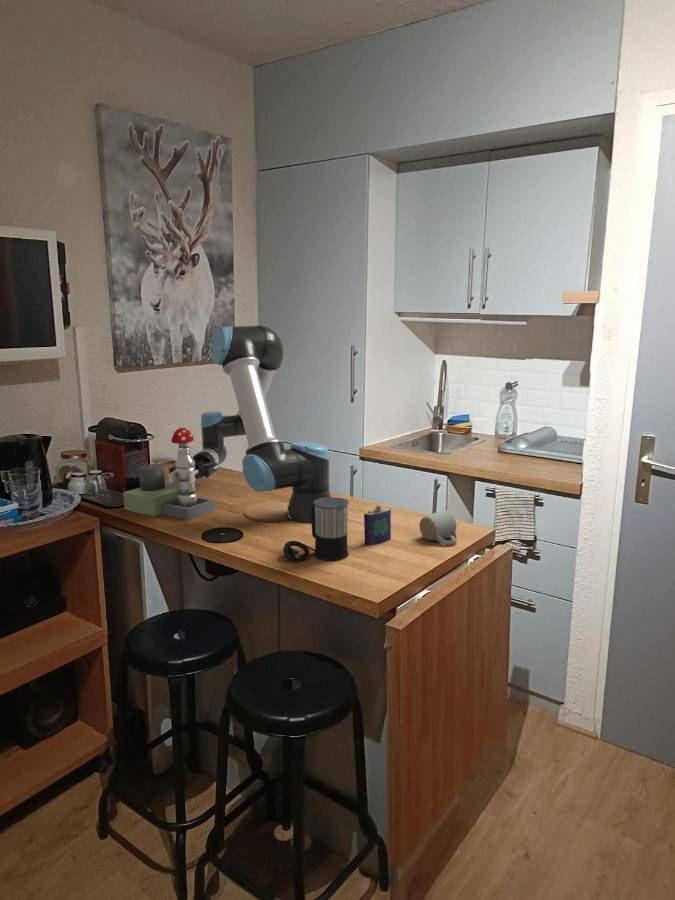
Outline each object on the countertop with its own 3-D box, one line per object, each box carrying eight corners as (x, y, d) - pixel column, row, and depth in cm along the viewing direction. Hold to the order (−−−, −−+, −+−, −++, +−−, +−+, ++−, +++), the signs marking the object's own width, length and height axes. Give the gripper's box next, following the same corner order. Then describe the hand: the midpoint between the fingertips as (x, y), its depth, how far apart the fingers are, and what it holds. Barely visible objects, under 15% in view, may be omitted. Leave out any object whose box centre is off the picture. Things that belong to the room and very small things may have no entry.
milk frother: (356, 554, 179) (355, 501, 176) (314, 571, 168) (313, 515, 165) (317, 542, 189) (317, 491, 186) (276, 558, 177) (274, 504, 174)
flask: (387, 536, 193) (387, 500, 190) (394, 539, 190) (394, 503, 188) (362, 544, 187) (362, 507, 185) (369, 546, 185) (368, 509, 183)
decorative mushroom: (184, 459, 293) (182, 425, 290) (199, 461, 289) (197, 426, 286) (168, 463, 285) (165, 429, 281) (183, 466, 280) (181, 430, 277)
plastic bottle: (196, 503, 222) (192, 444, 217) (199, 509, 215) (195, 448, 211) (176, 506, 219) (172, 446, 215) (179, 511, 213) (175, 450, 209)
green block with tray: (221, 507, 222) (219, 469, 219) (181, 522, 207) (178, 482, 204) (165, 496, 236) (163, 460, 233) (124, 509, 221) (121, 471, 218)
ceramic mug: (417, 537, 192) (417, 511, 190) (438, 532, 196) (439, 506, 194) (442, 549, 183) (443, 522, 181) (464, 542, 187) (465, 516, 186)
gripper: (231, 472, 232) (209, 491, 209) (179, 471, 234) (152, 489, 212) (230, 451, 230) (208, 467, 208) (177, 450, 233) (150, 466, 210)
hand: (180, 478), depth 210 cm, fingers closed on plastic bottle, 6 cm apart
